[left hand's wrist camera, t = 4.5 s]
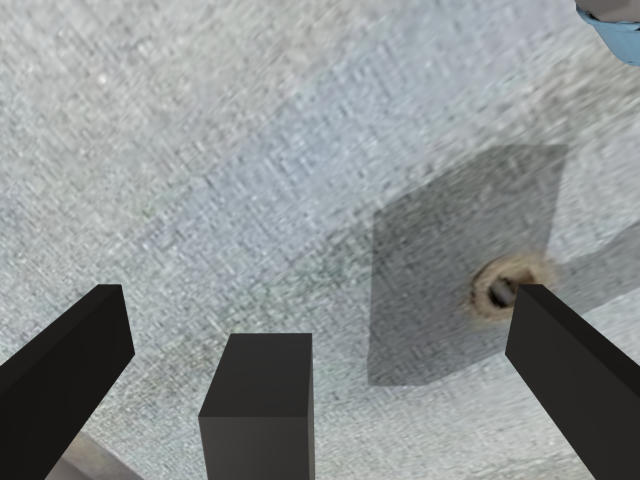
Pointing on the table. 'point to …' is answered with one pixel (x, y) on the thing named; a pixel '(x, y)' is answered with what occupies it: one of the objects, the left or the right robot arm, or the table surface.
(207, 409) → the box
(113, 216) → the table surface
